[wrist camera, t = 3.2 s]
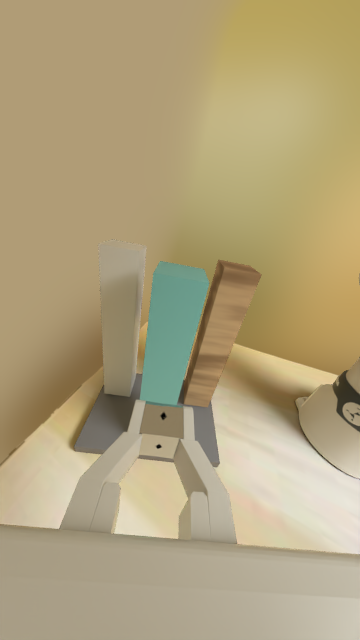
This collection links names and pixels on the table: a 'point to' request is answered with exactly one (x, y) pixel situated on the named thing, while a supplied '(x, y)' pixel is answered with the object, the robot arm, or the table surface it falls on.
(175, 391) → the teal post
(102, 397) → the board
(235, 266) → the walnut post
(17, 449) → the table surface
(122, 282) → the cream post
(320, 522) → the table surface
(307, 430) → the robot arm
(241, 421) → the table surface
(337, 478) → the table surface
